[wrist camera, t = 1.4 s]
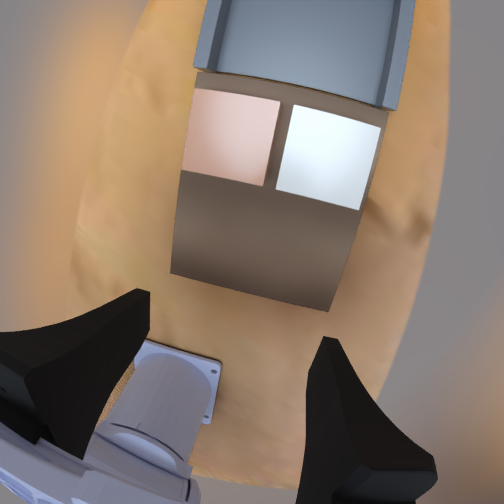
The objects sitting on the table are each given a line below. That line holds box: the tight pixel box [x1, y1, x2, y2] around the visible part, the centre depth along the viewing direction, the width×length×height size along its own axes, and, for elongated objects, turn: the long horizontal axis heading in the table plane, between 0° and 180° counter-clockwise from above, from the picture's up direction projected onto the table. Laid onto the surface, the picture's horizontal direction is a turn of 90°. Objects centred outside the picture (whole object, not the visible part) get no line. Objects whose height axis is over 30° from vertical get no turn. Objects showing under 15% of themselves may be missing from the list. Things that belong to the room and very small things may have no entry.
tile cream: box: [276, 105, 381, 210], centre depth 15 cm, size 4×4×2 cm
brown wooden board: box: [170, 72, 389, 312], centre depth 18 cm, size 12×10×3 cm
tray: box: [193, 0, 415, 111], centre depth 13 cm, size 8×11×4 cm
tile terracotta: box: [181, 88, 283, 186], centre depth 15 cm, size 4×4×2 cm
